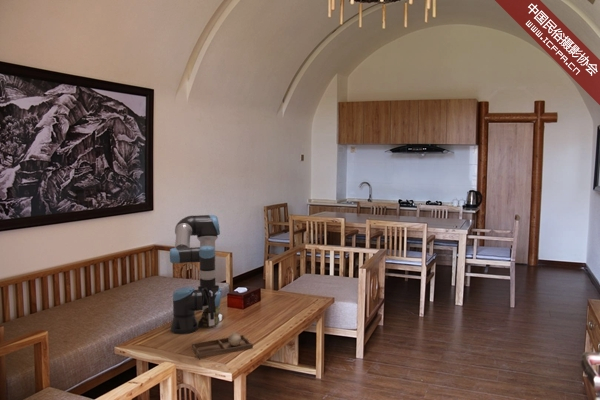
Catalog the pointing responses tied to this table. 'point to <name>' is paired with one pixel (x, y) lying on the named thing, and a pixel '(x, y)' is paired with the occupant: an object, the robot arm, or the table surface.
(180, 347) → the table surface
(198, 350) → the holder
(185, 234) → the robot arm
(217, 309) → the seashell
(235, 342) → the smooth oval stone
